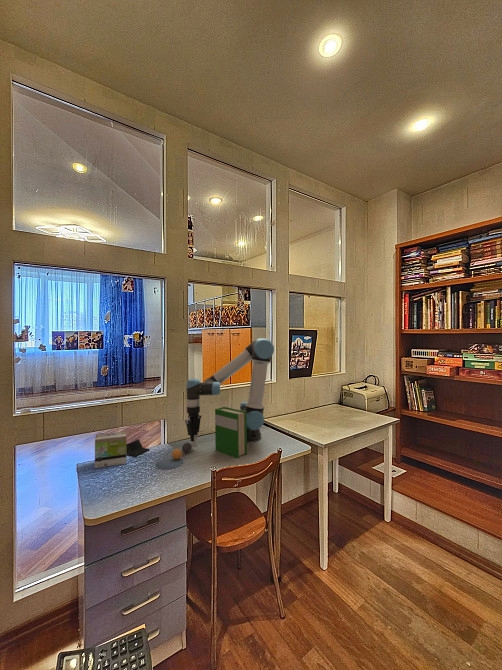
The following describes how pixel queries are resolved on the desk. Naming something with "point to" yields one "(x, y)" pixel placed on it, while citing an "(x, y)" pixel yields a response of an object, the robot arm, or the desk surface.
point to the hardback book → (231, 431)
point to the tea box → (110, 449)
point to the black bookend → (135, 448)
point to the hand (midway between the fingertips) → (193, 446)
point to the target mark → (169, 463)
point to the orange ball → (177, 454)
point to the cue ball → (186, 447)
